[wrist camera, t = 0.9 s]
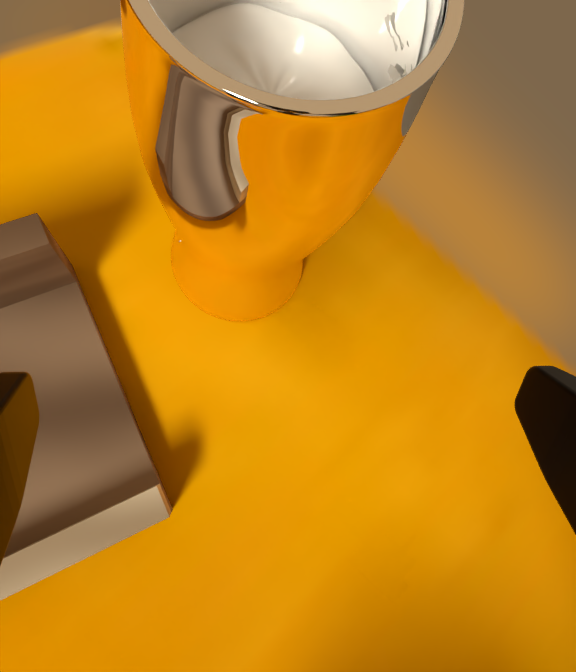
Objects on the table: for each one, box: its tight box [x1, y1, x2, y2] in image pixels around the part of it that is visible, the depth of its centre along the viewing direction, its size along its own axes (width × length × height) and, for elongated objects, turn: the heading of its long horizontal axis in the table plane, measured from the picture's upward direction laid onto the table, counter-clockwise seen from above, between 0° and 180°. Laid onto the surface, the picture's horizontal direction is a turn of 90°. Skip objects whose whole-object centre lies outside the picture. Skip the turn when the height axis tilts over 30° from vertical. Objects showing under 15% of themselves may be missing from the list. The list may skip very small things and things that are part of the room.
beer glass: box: [120, 0, 464, 321], centre depth 16 cm, size 7×7×15 cm
